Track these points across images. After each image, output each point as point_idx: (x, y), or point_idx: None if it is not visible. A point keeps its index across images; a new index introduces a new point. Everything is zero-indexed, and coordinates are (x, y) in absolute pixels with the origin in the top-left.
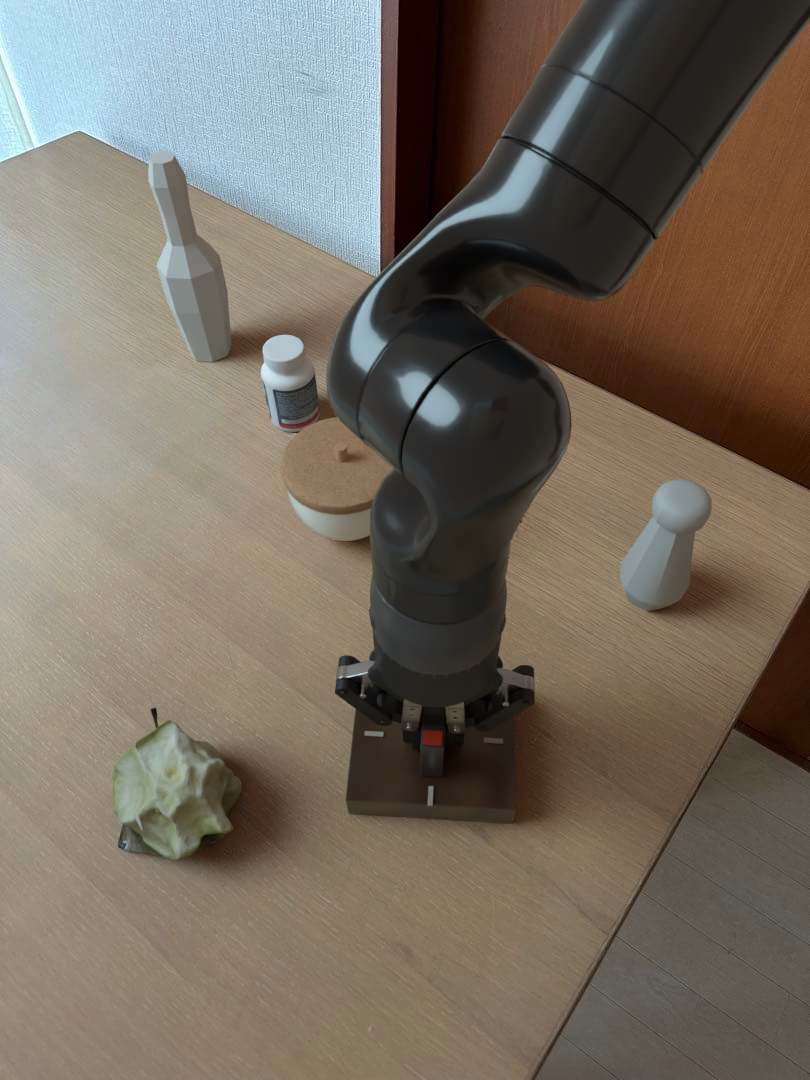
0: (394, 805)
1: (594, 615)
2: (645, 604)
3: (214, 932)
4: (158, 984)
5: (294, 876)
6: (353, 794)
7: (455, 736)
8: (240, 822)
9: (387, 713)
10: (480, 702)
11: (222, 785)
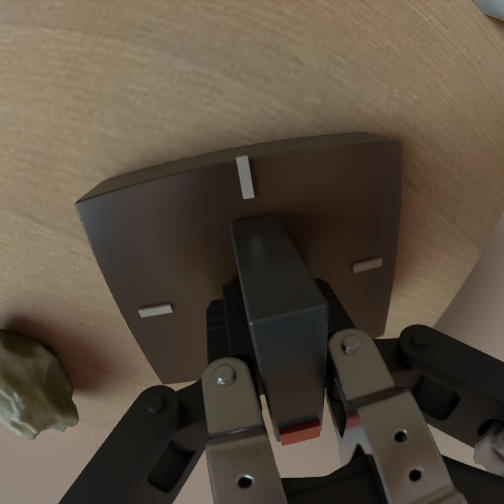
0: None
1: (443, 2)
2: (500, 16)
3: (116, 419)
4: (108, 435)
5: None
6: (169, 379)
7: None
8: (73, 366)
9: (194, 459)
10: (415, 376)
11: (39, 398)
